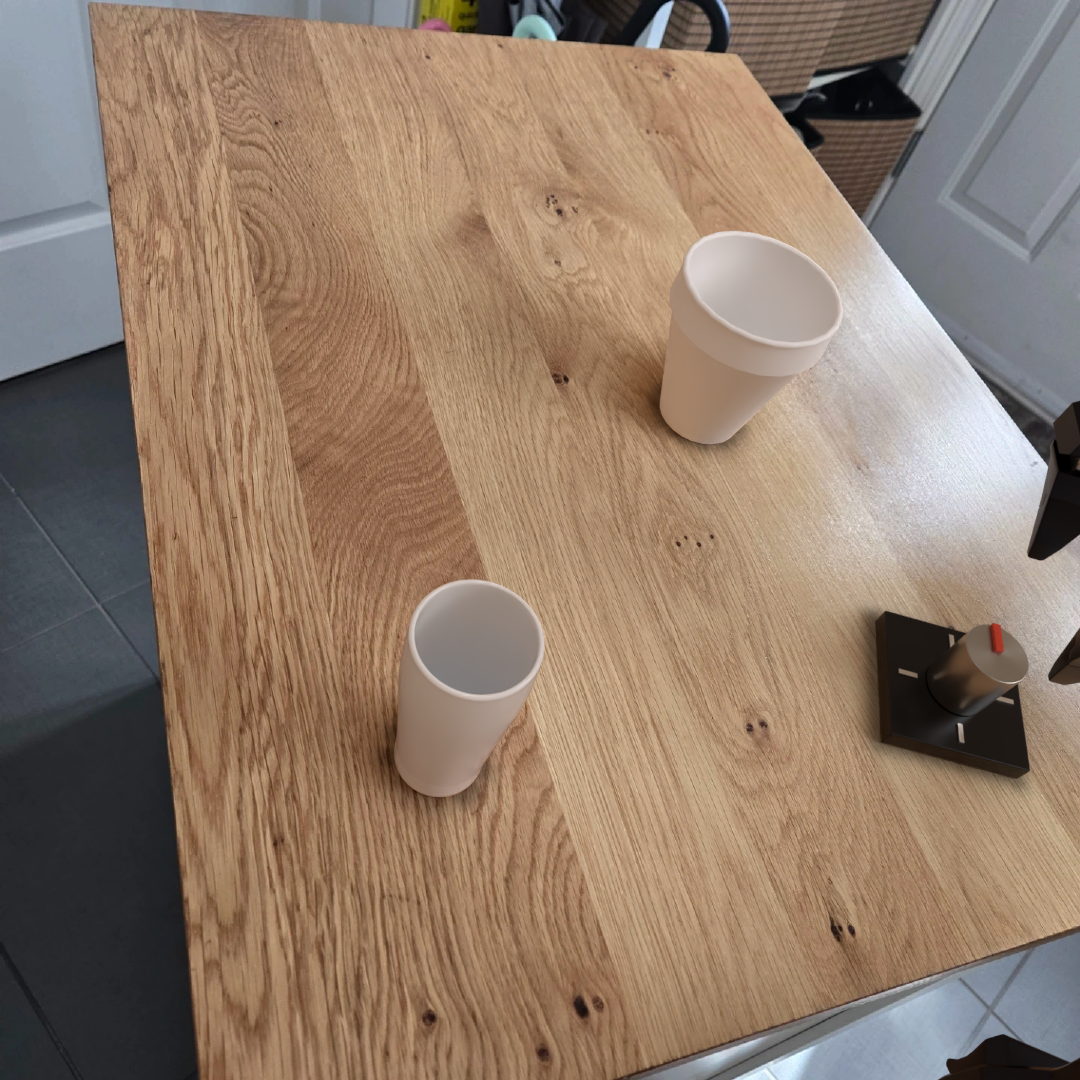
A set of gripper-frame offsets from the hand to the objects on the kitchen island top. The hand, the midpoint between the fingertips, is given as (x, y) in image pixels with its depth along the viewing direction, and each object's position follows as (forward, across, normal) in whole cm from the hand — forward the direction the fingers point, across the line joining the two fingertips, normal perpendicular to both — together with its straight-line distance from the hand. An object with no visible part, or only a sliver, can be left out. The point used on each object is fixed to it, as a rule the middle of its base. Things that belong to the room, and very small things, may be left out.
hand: (1044, 616), depth 59 cm
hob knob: (+10, 0, 0) cm, 10 cm away
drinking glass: (+12, -14, +34) cm, 38 cm away
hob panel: (+12, 0, 0) cm, 12 cm away
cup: (+12, +21, +20) cm, 31 cm away
